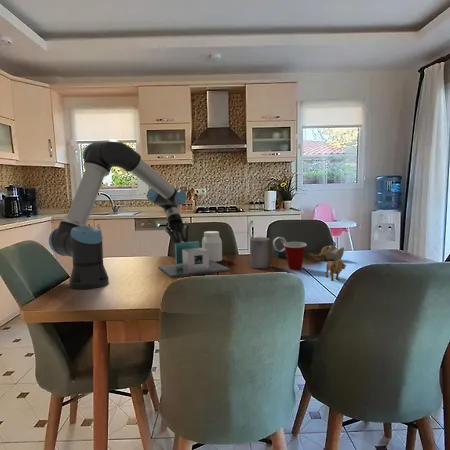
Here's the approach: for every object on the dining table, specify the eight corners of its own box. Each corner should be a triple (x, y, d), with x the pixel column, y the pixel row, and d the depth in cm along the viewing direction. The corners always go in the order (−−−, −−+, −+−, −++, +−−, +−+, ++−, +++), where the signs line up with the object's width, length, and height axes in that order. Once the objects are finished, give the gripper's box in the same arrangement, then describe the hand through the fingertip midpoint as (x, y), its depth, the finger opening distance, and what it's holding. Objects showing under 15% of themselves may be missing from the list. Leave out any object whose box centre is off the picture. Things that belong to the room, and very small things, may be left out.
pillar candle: (258, 263, 185) (258, 234, 184) (274, 266, 178) (274, 235, 177) (245, 266, 179) (245, 236, 177) (261, 269, 172) (261, 238, 170)
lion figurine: (347, 282, 147) (347, 260, 146) (335, 283, 146) (335, 260, 145) (330, 273, 161) (330, 253, 160) (318, 274, 160) (319, 254, 159)
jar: (223, 261, 193) (222, 232, 191) (205, 262, 190) (204, 233, 189) (218, 257, 204) (217, 230, 202) (201, 258, 202) (200, 231, 200)
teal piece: (183, 268, 168) (182, 246, 167) (175, 263, 179) (175, 243, 178) (207, 265, 173) (207, 244, 172) (198, 261, 184) (198, 241, 183)
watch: (288, 257, 201) (289, 237, 199) (275, 258, 198) (275, 238, 197) (284, 255, 206) (284, 236, 205) (271, 256, 204) (271, 236, 203)
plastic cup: (281, 270, 169) (281, 244, 168) (285, 265, 180) (285, 241, 178) (305, 271, 166) (305, 245, 165) (308, 266, 176) (308, 242, 175)
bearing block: (171, 277, 159) (170, 254, 158) (158, 267, 179) (157, 247, 178) (229, 270, 171) (229, 249, 170) (211, 262, 191) (210, 243, 190)
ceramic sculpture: (340, 245, 183) (311, 245, 191) (341, 262, 183) (312, 261, 192) (346, 243, 191) (319, 242, 200) (347, 259, 192) (319, 258, 201)
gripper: (184, 221, 204) (195, 256, 191) (161, 222, 199) (170, 258, 185) (186, 212, 199) (198, 247, 185) (163, 213, 193) (173, 249, 180)
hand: (184, 252), depth 185 cm, fingers closed
